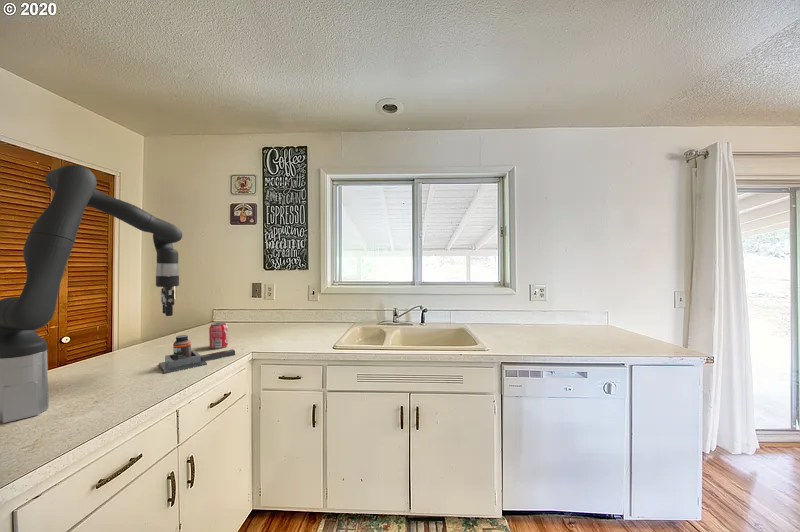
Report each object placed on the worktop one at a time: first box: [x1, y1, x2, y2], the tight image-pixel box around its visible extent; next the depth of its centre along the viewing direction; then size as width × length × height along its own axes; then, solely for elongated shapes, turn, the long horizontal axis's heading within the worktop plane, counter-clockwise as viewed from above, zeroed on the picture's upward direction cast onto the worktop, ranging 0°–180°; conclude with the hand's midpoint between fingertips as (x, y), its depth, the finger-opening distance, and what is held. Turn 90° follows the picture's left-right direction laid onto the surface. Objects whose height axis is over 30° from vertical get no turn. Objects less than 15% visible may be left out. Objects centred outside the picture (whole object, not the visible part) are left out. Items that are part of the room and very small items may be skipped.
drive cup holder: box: [158, 349, 236, 375], centre depth 129 cm, size 14×26×4 cm, turn 136°
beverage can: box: [208, 321, 229, 350], centre depth 150 cm, size 8×8×12 cm
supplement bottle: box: [172, 334, 192, 360], centre depth 125 cm, size 6×6×11 cm
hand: (167, 314), depth 122 cm, fingers open, 8 cm apart
